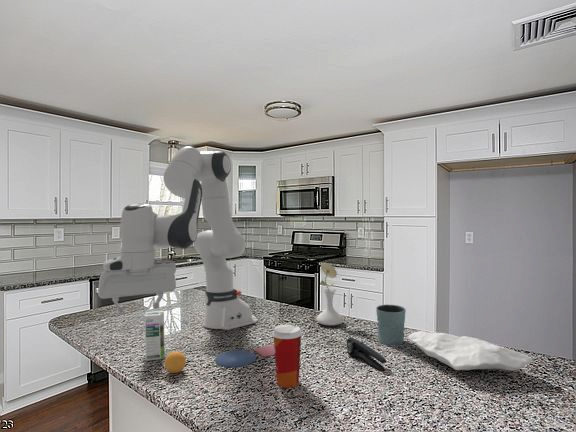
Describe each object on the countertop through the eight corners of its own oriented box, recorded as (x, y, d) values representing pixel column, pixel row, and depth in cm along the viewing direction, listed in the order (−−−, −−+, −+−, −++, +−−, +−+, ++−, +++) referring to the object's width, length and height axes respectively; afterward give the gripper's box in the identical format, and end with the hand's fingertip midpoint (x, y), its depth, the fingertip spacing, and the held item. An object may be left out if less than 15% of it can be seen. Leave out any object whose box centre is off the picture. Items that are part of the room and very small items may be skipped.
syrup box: (145, 361, 118) (144, 316, 118) (146, 354, 124) (145, 311, 123) (164, 359, 120) (163, 314, 119) (165, 352, 125) (164, 309, 125)
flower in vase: (349, 325, 151) (348, 264, 151) (324, 329, 147) (323, 266, 146) (333, 317, 163) (333, 260, 163) (310, 320, 159) (309, 261, 159)
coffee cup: (285, 373, 109) (285, 322, 108) (308, 381, 103) (308, 327, 103) (266, 384, 102) (265, 329, 102) (289, 393, 97) (288, 335, 96)
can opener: (341, 353, 124) (341, 336, 123) (358, 349, 126) (358, 333, 126) (374, 374, 107) (374, 355, 107) (393, 370, 110) (393, 351, 110)
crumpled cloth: (524, 396, 91) (525, 357, 92) (389, 359, 114) (391, 328, 114) (536, 376, 109) (537, 345, 110) (417, 348, 132) (419, 322, 132)
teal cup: (400, 336, 138) (400, 304, 138) (410, 346, 128) (410, 311, 128) (373, 337, 138) (372, 304, 138) (380, 347, 128) (380, 312, 127)
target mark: (246, 347, 129) (246, 347, 129) (262, 361, 117) (262, 360, 117) (209, 355, 122) (209, 355, 122) (223, 370, 111) (223, 369, 111)
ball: (183, 366, 114) (182, 346, 114) (188, 373, 109) (188, 353, 109) (162, 370, 111) (162, 350, 111) (167, 378, 106) (166, 357, 106)
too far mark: (274, 344, 131) (274, 344, 131) (285, 352, 124) (285, 351, 124) (253, 349, 127) (253, 348, 127) (263, 357, 120) (263, 356, 120)
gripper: (173, 257, 113) (173, 303, 113) (97, 262, 103) (98, 312, 103) (178, 260, 107) (178, 308, 107) (98, 265, 97) (99, 318, 97)
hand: (138, 310), depth 105 cm, fingers open, 8 cm apart
